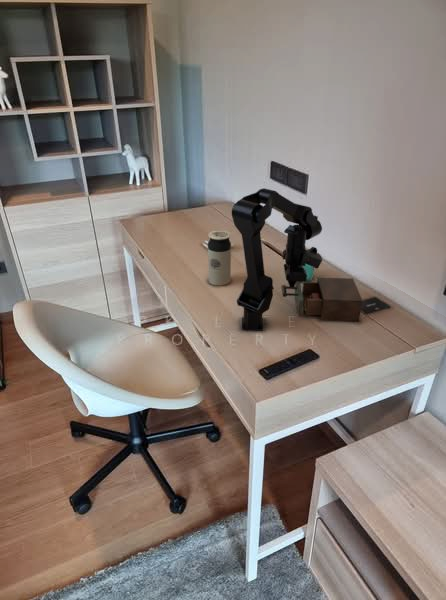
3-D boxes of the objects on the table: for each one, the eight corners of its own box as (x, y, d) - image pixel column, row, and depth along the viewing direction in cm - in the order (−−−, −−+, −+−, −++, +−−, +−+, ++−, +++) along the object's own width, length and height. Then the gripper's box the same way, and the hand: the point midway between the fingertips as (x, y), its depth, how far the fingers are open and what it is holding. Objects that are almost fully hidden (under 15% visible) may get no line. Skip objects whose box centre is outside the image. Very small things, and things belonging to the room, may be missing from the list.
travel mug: (218, 274, 160) (218, 228, 151) (234, 280, 156) (235, 233, 147) (204, 281, 155) (203, 235, 146) (220, 288, 151) (220, 240, 142)
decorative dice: (313, 274, 160) (316, 254, 156) (310, 283, 154) (312, 263, 150) (292, 271, 163) (294, 251, 159) (288, 280, 156) (289, 260, 152)
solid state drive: (390, 308, 140) (390, 306, 140) (366, 315, 136) (366, 313, 136) (375, 298, 145) (375, 296, 145) (351, 305, 142) (352, 303, 141)
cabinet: (320, 320, 133) (323, 299, 129) (314, 297, 145) (317, 277, 142) (358, 321, 132) (362, 300, 128) (349, 298, 145) (352, 278, 141)
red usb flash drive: (319, 310, 134) (320, 300, 133) (312, 310, 134) (313, 300, 133) (315, 296, 142) (316, 287, 140) (308, 296, 142) (310, 287, 140)
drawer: (282, 315, 133) (283, 299, 130) (279, 294, 145) (280, 279, 142) (331, 317, 133) (334, 301, 130) (325, 296, 144) (327, 280, 141)
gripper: (326, 257, 125) (320, 303, 133) (317, 233, 141) (312, 275, 149) (288, 256, 126) (284, 301, 134) (284, 232, 142) (280, 274, 150)
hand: (291, 287), depth 142 cm, fingers closed
